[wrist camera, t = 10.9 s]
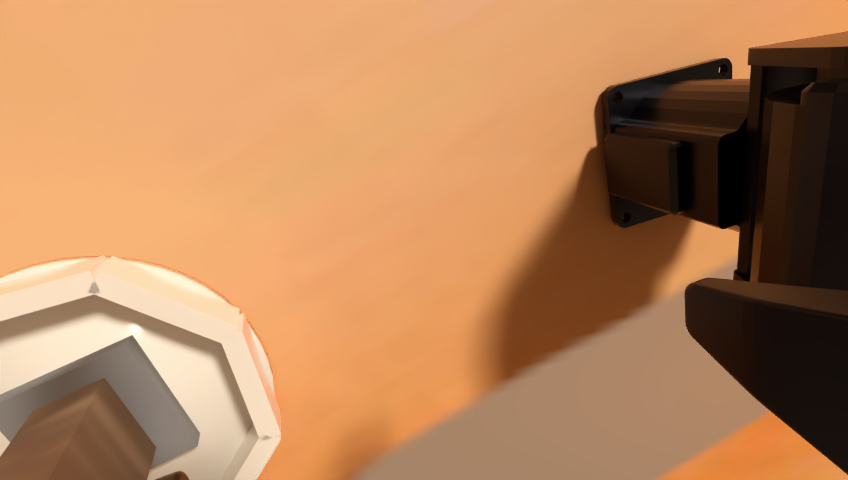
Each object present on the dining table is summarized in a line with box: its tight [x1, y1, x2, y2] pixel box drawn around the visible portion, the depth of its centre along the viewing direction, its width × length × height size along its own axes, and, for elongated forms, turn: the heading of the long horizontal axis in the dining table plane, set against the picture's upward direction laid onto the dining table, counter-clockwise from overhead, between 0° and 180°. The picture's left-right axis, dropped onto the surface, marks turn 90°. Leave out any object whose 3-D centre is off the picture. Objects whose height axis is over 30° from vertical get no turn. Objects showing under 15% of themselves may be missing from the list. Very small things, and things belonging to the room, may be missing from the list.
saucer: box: [0, 255, 281, 480], centre depth 19 cm, size 12×12×2 cm
